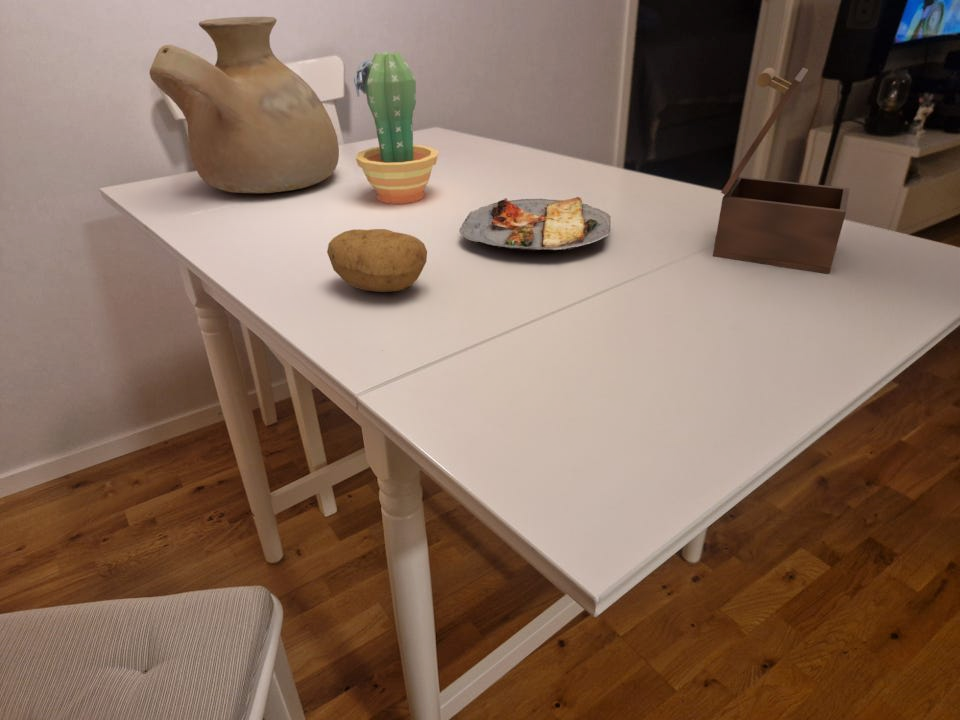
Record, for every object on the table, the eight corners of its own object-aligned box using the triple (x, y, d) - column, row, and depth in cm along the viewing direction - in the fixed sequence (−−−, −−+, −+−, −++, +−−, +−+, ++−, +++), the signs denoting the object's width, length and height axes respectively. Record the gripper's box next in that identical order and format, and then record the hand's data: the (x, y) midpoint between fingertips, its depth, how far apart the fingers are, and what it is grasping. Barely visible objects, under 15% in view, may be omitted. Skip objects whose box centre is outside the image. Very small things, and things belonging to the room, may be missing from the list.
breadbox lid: (808, 69, 90) (775, 53, 91) (800, 82, 82) (764, 63, 82) (739, 174, 101) (710, 158, 102) (725, 195, 92) (694, 177, 93)
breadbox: (834, 245, 99) (849, 188, 95) (829, 273, 90) (846, 211, 86) (726, 231, 105) (736, 176, 101) (712, 255, 97) (722, 197, 92)
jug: (371, 175, 138) (354, 14, 123) (237, 220, 115) (194, 29, 100) (282, 157, 153) (256, 12, 138) (146, 195, 130) (97, 25, 114)
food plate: (480, 207, 119) (479, 187, 117) (610, 212, 115) (612, 192, 113) (448, 259, 98) (447, 237, 96) (607, 268, 94) (609, 244, 92)
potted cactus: (406, 180, 135) (395, 46, 122) (458, 195, 125) (452, 51, 112) (343, 197, 125) (325, 54, 112) (394, 215, 116) (380, 60, 103)
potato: (355, 268, 96) (348, 215, 92) (441, 282, 91) (438, 226, 87) (315, 295, 88) (306, 238, 84) (407, 312, 83) (402, 252, 79)
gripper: (950, -165, 64) (897, 31, 73) (939, -145, 77) (895, 20, 86) (864, -157, 67) (822, 30, 76) (867, -139, 80) (832, 19, 89)
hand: (861, 24), depth 81 cm, fingers open, 9 cm apart
